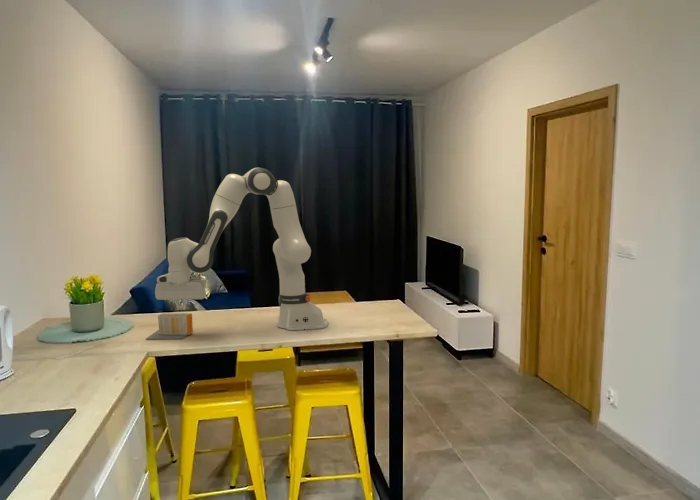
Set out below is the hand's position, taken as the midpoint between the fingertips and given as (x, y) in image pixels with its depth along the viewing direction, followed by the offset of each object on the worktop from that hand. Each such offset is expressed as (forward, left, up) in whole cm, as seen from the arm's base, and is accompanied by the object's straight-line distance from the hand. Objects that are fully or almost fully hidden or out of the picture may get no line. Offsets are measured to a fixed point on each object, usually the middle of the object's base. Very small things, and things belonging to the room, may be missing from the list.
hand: (181, 309), depth 214 cm
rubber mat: (+5, 0, -11) cm, 12 cm away
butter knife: (+31, +19, -11) cm, 38 cm away
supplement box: (-4, 0, -6) cm, 7 cm away
